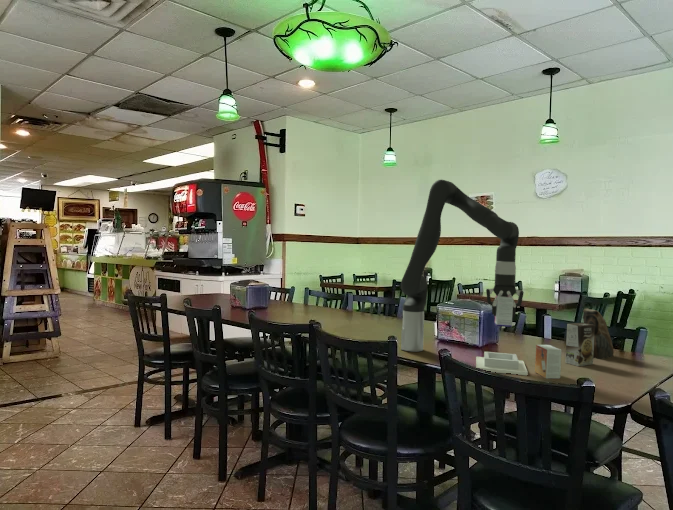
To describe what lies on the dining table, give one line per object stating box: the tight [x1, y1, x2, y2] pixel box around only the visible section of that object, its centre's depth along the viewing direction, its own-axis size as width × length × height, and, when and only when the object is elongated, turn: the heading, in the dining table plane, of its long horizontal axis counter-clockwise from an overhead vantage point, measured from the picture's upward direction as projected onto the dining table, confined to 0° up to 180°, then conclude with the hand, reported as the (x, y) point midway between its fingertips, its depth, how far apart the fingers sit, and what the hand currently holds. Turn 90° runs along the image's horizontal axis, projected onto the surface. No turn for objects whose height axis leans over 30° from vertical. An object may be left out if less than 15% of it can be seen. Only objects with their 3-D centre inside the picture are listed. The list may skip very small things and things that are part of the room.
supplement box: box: [494, 294, 514, 328], centre depth 188 cm, size 6×6×12 cm
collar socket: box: [475, 351, 529, 376], centre depth 186 cm, size 18×18×4 cm
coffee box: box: [565, 322, 595, 367], centre depth 195 cm, size 9×6×16 cm
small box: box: [534, 344, 563, 379], centre depth 176 cm, size 8×6×10 cm
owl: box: [582, 307, 614, 360], centre depth 211 cm, size 13×13×20 cm
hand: (503, 316), depth 188 cm, fingers closed on supplement box, 6 cm apart
